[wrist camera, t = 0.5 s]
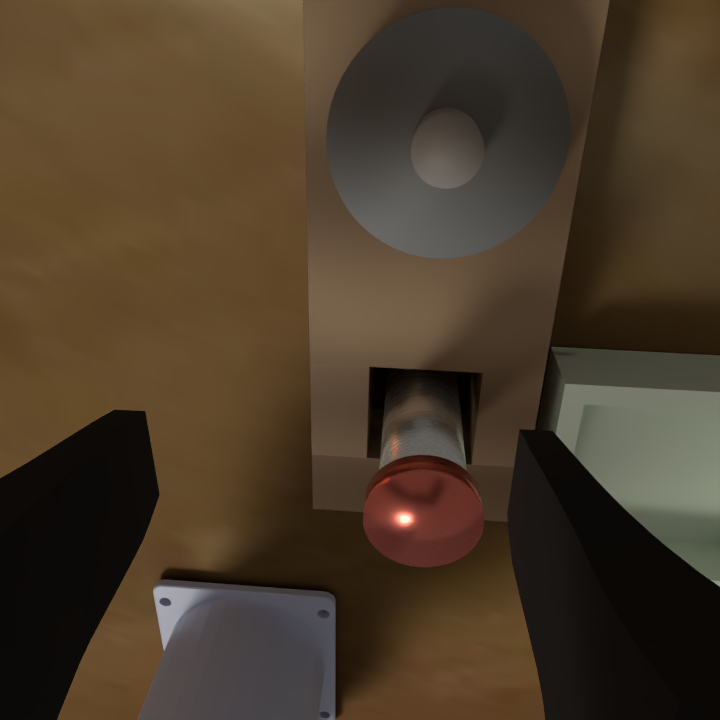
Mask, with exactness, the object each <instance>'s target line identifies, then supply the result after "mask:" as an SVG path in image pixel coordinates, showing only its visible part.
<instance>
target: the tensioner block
mask: <svg viewBox="0 0 720 720" xmlns="http://www.w3.org/2000/svg"><path fill="white" fill-rule="evenodd" d="M609 1H610V0H303V29H304V80H305V132H306V183H307V234H308V285H309V337H310V388H311V439H312V490H313V509H323V510H337V511H352V512H364V504H365V495H366V490H367V486H368V484H369V482H370V480H371V479H372V477H373V476H374V475H375V474H376V473H377V471H378V470H379V465H380V454H381V442H382V430H383V418H384V409H372V402H373V371H374V367H382V368H401V369H419V370H438V371H456V372H470V381H469V390H468V399H467V408H466V414H461V421H462V430H463V440H464V450H465V460H466V469H467V471H468V472H469V473H470V474H471V476H472V477H473V478H474V480H475V481H476V483H477V485H478V487H479V489H480V493H481V499H482V507H483V515H484V520H486V521H500V522H508V517H507V512H508V505H509V498H510V491H511V484H512V477H513V470H514V463H515V456H516V449H517V442H518V435H519V429H527V430H535V425H536V420H537V414H538V408H539V403H540V397H541V391H542V385H543V380H544V374H545V368H546V362H547V357H548V351H549V345H550V339H551V334H552V328H553V322H554V317H555V311H556V305H557V299H558V294H559V288H560V282H561V276H562V271H563V265H564V259H565V254H566V248H567V242H568V236H569V231H570V225H571V219H572V213H573V208H574V202H575V196H576V190H577V185H578V179H579V173H580V168H581V162H582V156H583V150H584V145H585V139H586V133H587V127H588V122H589V116H590V110H591V105H592V99H593V93H594V87H595V82H596V76H597V70H598V64H599V59H600V53H601V47H602V41H603V36H604V30H605V24H606V19H607V13H608V7H609Z"/></svg>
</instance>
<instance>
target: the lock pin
mask: <svg viewBox="0 0 720 720" xmlns="http://www.w3.org/2000/svg"><path fill="white" fill-rule="evenodd" d="M363 526H364V531H365V533H366V536H367V538H368V539H369V541H370V543H371V544H372V545H373V546H374V547H375V548H376V549H377V550H378V551H379V552H380V553H381V554H383V555H384V556H386V557H387V558H389V559H391V560H393V561H395V562H398V563H401V564H404V565H408V566H414V567H436V566H442V565H446V564H449V563H452V562H454V561H457V560H458V559H460V558H462V557H464V556H465V555H467V554H468V553H469V552H470V551H471V550H472V549H473V548H474V547H475V546H476V545H477V543H478V542H479V540H480V538H481V536H482V533H483V529H484V515H483V507H482V499H481V493H480V489H479V487H478V485H477V483H476V481H475V480H474V478H473V477H472V476H471V474H470V473H469V472H468V471H467V469H466V460H465V450H464V440H463V430H462V421H461V411H460V401H459V391H458V382H457V372H456V371H438V370H419V369H401V368H388V371H387V383H386V395H385V407H384V418H383V430H382V442H381V454H380V465H379V470H378V471H377V473H376V474H375V475H374V476H373V477H372V479H371V480H370V482H369V484H368V486H367V490H366V495H365V504H364V513H363Z"/></svg>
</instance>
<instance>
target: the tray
mask: <svg viewBox="0 0 720 720" xmlns="http://www.w3.org/2000/svg"><path fill="white" fill-rule="evenodd" d="M536 430H547V431H553V432H554V433H555V434H556V435H557V436H558V437H559V439H560V440H561V441H562V442H563V443H564V444H565V445H566V446H567V448H568V449H569V450H570V451H571V452H572V453H573V454H574V456H575V457H576V458H577V459H578V460H579V461H580V462H581V463H582V465H583V466H584V467H585V468H586V469H587V470H588V471H589V472H590V474H591V475H592V476H593V477H594V478H595V479H596V480H597V481H598V482H599V483H600V484H601V485H602V486H603V487H604V488H605V490H606V491H607V492H608V493H609V494H610V495H611V496H612V497H613V498H614V499H615V500H616V501H617V502H618V503H619V504H620V505H621V506H622V507H623V508H624V509H625V510H626V511H627V512H628V513H630V514H631V515H632V516H633V517H634V518H635V519H636V520H637V521H638V522H639V523H640V524H642V525H643V526H644V527H645V528H646V529H647V530H648V531H649V532H650V533H651V534H653V535H654V536H655V537H656V538H657V539H658V540H660V541H661V542H662V543H663V544H664V545H665V546H667V547H668V548H669V549H670V550H672V551H673V552H674V553H676V554H677V555H678V556H679V557H681V558H682V559H683V560H684V561H686V562H687V563H688V564H690V565H691V566H692V567H693V568H695V569H696V570H697V571H699V572H700V573H701V574H703V575H704V576H705V577H707V578H708V579H710V580H711V581H712V582H714V583H715V584H717V585H718V586H720V355H702V354H683V353H664V352H644V351H625V350H605V349H586V348H567V347H551V349H550V355H549V361H548V366H547V372H546V378H545V383H544V389H543V395H542V401H541V406H540V412H539V418H538V423H537V429H536Z"/></svg>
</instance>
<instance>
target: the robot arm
mask: <svg viewBox="0 0 720 720" xmlns="http://www.w3.org/2000/svg"><path fill="white" fill-rule="evenodd" d="M158 497H159V489H158V483H157V478H156V472H155V466H154V460H153V454H152V448H151V442H150V437H149V431H148V425H147V419H146V413H145V411H129V410H114V411H112V412H110V413H108V414H106V415H104V416H102V417H101V418H99V419H97V420H96V421H94V422H92V423H91V424H89V425H87V426H86V427H84V428H83V429H81V430H79V431H78V432H76V433H75V434H73V435H71V436H70V437H68V438H67V439H65V440H63V441H62V442H60V443H59V444H57V445H55V446H54V447H52V448H51V449H49V450H47V451H46V452H44V453H43V454H41V455H39V456H38V457H36V458H35V459H33V460H31V461H30V462H28V463H26V464H25V465H23V466H21V467H19V468H18V469H16V470H14V471H12V472H11V473H9V474H7V475H5V476H4V477H2V478H0V720H57V718H58V715H59V713H60V710H61V708H62V705H63V703H64V700H65V698H66V695H67V693H68V690H69V688H70V686H71V683H72V681H73V678H74V676H75V673H76V671H77V668H78V666H79V663H80V661H81V659H82V657H83V655H84V653H85V651H86V648H87V646H88V644H89V642H90V640H91V638H92V636H93V634H94V632H95V631H96V629H97V627H98V625H99V623H100V621H101V619H102V617H103V615H104V614H105V612H106V610H107V608H108V606H109V604H110V602H111V600H112V599H113V597H114V595H115V593H116V591H117V589H118V587H119V585H120V584H121V582H122V580H123V578H124V576H125V574H126V572H127V570H128V568H129V566H130V565H131V563H132V561H133V559H134V557H135V555H136V553H137V551H138V549H139V547H140V545H141V543H142V541H143V539H144V536H145V534H146V531H147V529H148V526H149V523H150V521H151V518H152V515H153V512H154V509H155V506H156V503H157V500H158ZM507 517H508V528H509V538H510V547H511V556H512V563H513V568H514V572H515V577H516V581H517V586H518V590H519V594H520V599H521V603H522V607H523V611H524V615H525V620H526V624H527V628H528V632H529V636H530V641H531V645H532V649H533V653H534V658H535V662H536V666H537V670H538V676H539V681H540V686H541V691H542V697H543V704H544V712H545V720H720V586H718V585H717V584H715V583H714V582H712V581H711V580H710V579H708V578H707V577H705V576H704V575H703V574H701V573H700V572H699V571H697V570H696V569H695V568H693V567H692V566H691V565H690V564H688V563H687V562H686V561H684V560H683V559H682V558H681V557H679V556H678V555H677V554H676V553H674V552H673V551H672V550H670V549H669V548H668V547H667V546H665V545H664V544H663V543H662V542H661V541H660V540H658V539H657V538H656V537H655V536H654V535H653V534H651V533H650V532H649V531H648V530H647V529H646V528H645V527H644V526H643V525H642V524H640V523H639V522H638V521H637V520H636V519H635V518H634V517H633V516H632V515H631V514H630V513H628V512H627V511H626V510H625V509H624V508H623V507H622V506H621V505H620V504H619V503H618V502H617V501H616V500H615V499H614V498H613V497H612V496H611V495H610V494H609V493H608V492H607V491H606V490H605V488H604V487H603V486H602V485H601V484H600V483H599V482H598V481H597V480H596V479H595V478H594V477H593V476H592V475H591V474H590V472H589V471H588V470H587V469H586V468H585V467H584V466H583V465H582V463H581V462H580V461H579V460H578V459H577V458H576V457H575V456H574V454H573V453H572V452H571V451H570V450H569V449H568V448H567V446H566V445H565V444H564V443H563V442H562V441H561V440H560V439H559V437H558V436H557V435H556V434H555V433H554V432H553V431H547V430H527V429H519V435H518V442H517V449H516V456H515V463H514V470H513V477H512V484H511V491H510V498H509V505H508V512H507ZM153 594H154V600H155V605H156V610H157V616H158V621H159V627H160V632H161V638H162V643H163V649H164V653H163V656H162V658H161V661H160V663H159V666H158V669H157V671H156V674H155V676H154V679H153V681H152V684H151V686H150V689H149V691H148V694H147V696H146V699H145V702H144V704H143V707H142V709H141V712H140V714H139V717H138V719H137V720H336V599H335V597H334V596H333V595H332V594H331V593H329V592H325V591H312V590H299V589H286V588H272V587H259V586H246V585H232V584H219V583H206V582H192V581H179V580H160V581H158V582H157V583H156V585H155V587H154V589H153ZM166 598H168V599H166ZM322 610H326V611H322Z"/></svg>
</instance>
